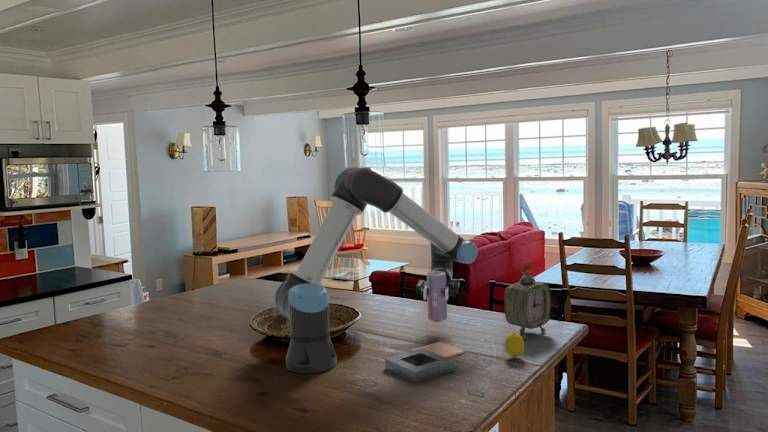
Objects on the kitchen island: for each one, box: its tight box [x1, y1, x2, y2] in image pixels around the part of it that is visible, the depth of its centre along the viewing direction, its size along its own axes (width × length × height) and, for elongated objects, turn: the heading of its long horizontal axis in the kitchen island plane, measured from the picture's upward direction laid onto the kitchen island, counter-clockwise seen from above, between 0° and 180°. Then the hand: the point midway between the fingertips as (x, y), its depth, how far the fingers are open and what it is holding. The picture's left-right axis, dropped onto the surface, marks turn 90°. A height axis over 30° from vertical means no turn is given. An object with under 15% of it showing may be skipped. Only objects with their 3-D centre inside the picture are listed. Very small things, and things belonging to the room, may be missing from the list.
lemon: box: [504, 331, 525, 359], centre depth 166 cm, size 6×6×8 cm
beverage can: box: [426, 271, 448, 323], centre depth 172 cm, size 6×6×15 cm
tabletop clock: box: [504, 261, 552, 340], centre depth 188 cm, size 14×9×25 cm, turn 129°
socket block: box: [384, 348, 455, 384], centre depth 159 cm, size 14×14×3 cm
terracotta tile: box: [410, 341, 466, 359], centre depth 174 cm, size 12×12×1 cm
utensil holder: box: [271, 306, 290, 331], centre depth 196 cm, size 6×6×12 cm
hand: (435, 295), depth 167 cm, fingers closed on beverage can, 6 cm apart
